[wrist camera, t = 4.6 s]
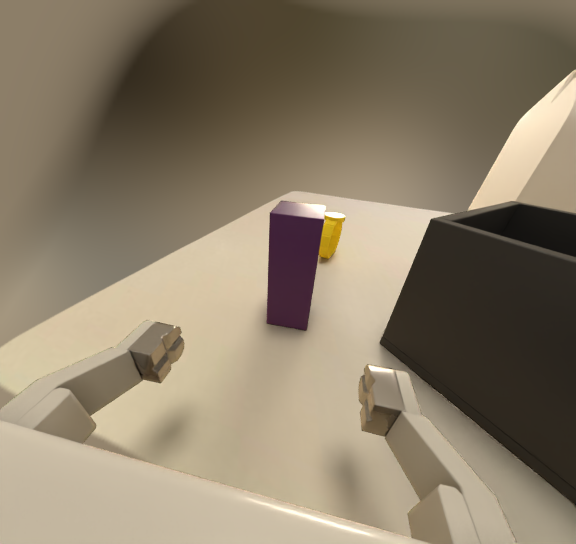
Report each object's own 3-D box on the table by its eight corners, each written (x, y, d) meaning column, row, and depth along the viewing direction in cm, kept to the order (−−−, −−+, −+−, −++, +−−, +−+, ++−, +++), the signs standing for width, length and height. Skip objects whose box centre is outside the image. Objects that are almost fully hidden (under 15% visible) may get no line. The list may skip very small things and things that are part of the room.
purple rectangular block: (306, 330, 19) (324, 219, 14) (266, 323, 20) (269, 212, 15) (310, 305, 22) (325, 205, 17) (275, 299, 23) (280, 200, 18)
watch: (330, 265, 30) (338, 222, 27) (311, 260, 31) (316, 218, 28) (341, 249, 35) (350, 211, 31) (325, 245, 36) (331, 208, 32)
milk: (527, 253, 39) (671, 49, 25) (577, 288, 29) (848, -9, 16) (450, 240, 42) (542, 51, 28) (472, 268, 32) (626, 3, 19)
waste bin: (690, 600, 9) (1478, 532, 3) (379, 342, 19) (430, 218, 13) (676, 402, 16) (901, 276, 10) (457, 294, 26) (511, 200, 21)
